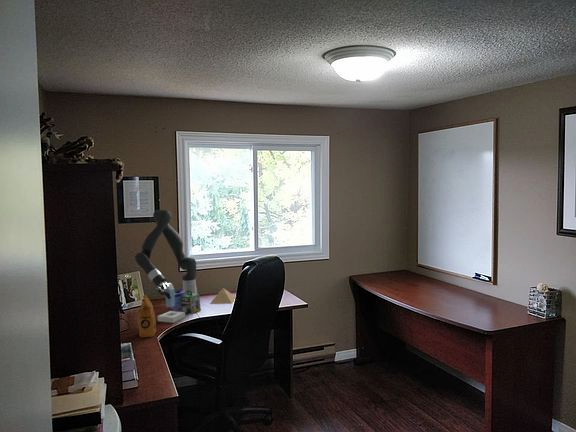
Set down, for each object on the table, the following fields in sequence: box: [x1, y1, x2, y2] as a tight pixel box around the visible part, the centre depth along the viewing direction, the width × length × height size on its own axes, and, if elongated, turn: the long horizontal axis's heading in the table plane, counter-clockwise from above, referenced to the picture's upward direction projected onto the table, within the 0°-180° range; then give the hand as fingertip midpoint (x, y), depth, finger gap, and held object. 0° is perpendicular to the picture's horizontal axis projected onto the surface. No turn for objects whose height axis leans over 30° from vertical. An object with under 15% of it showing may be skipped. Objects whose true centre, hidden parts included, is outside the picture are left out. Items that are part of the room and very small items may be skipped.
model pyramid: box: [209, 288, 236, 305], centre depth 327 cm, size 17×17×10 cm
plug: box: [164, 285, 175, 308], centre depth 284 cm, size 4×4×13 cm
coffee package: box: [137, 294, 157, 339], centre depth 257 cm, size 10×12×22 cm
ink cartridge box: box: [170, 289, 186, 312], centre depth 307 cm, size 10×6×14 cm, turn 135°
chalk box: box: [181, 290, 201, 315], centre depth 302 cm, size 9×9×15 cm
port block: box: [157, 310, 186, 324], centre depth 285 cm, size 12×12×4 cm
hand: (172, 297), depth 283 cm, fingers closed on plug, 4 cm apart
